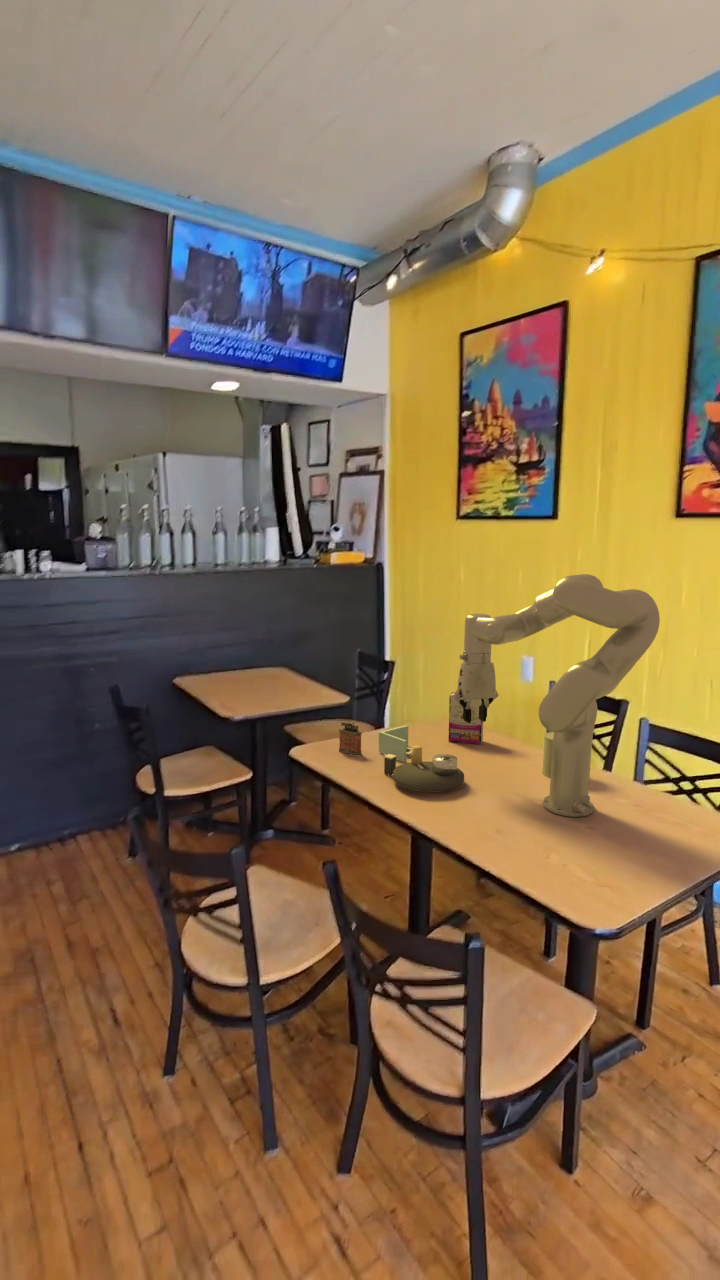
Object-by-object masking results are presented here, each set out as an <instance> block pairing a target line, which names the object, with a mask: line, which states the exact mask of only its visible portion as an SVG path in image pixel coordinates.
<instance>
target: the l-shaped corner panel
mask: <svg viewBox="0 0 720 1280" xmlns="http://www.w3.org/2000/svg"><path fill="white" fill-rule="evenodd" d="M379 752H380V753H379ZM406 752H408V753H406ZM378 753H379V754H381V753H383V754H386V755H388V754H392V755H396V759H398V760H400V761H399V762H401V761H403V762H405V763H407V759H408V758H407V757H411V756H412V747H409V725H401V726H398V727H394V728H390V729H385V730H381V731H378ZM383 754H382V755H383ZM386 755H385V756H386ZM411 758H412V757H411ZM398 760H397V761H398ZM403 762H402V763H403Z"/></svg>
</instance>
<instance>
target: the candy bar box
mask: <svg viewBox="0 0 720 1280" xmlns="http://www.w3.org/2000/svg"><path fill="white" fill-rule="evenodd" d="M455 692H456V691H452V692H451V693H450V694H449V699H448V701H449V702H448V704H449V707H448V708H449V710H448V715H449V716H448V742H449V743H457V744H458V743H460V744H470V745H482V743H483V740H484V722H483V721H482V720H480V719H479V706H480V705H481V701H480V699H473V700H471V704H470V709H471V723H467V722H466V721H464V719H463V707H462V706H461V705H460V704H459V703H458V702H457V701H456V700H454V699H453V696H454V694H455ZM460 698H461V699H462V700H463V696H460Z"/></svg>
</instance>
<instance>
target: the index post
mask: <svg viewBox="0 0 720 1280" xmlns="http://www.w3.org/2000/svg"><path fill="white" fill-rule="evenodd" d="M383 758H384V759H383V760H384V763H383V766H384V769H383V770H384V772H383V773H385V774H384V775H387V774H389V775H388V776H393V775H392V774H393V770H394V769H395V768H396V767H397V760H396V755H392V754H388V755H383Z"/></svg>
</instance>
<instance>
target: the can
mask: <svg viewBox="0 0 720 1280" xmlns="http://www.w3.org/2000/svg"><path fill="white" fill-rule="evenodd" d="M553 737H554V732H551V731H549V732H547V733H544V736H543V738H544V740H543V756H542V757H543V758H542V759H543V760H542V770H541V774H542V775H543V776H544V777H547V778H550V779H551V763H552V747H553Z"/></svg>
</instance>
